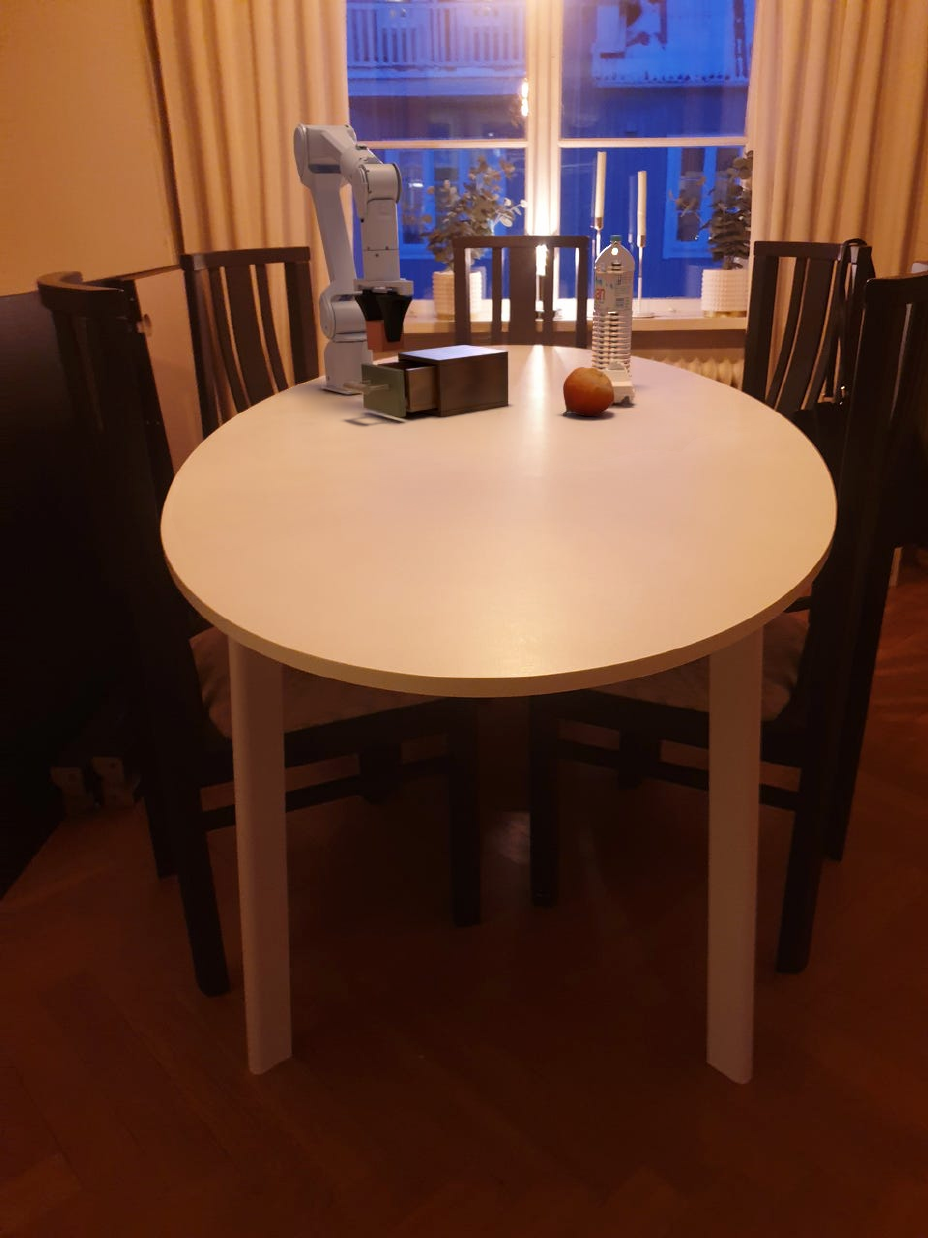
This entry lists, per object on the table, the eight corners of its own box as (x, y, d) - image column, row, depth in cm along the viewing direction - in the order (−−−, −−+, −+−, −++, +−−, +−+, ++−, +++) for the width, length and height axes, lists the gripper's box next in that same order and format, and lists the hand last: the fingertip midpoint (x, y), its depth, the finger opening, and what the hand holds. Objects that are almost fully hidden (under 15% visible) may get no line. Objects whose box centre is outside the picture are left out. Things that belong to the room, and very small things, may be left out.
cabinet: (441, 416, 140) (439, 359, 137) (400, 406, 149) (397, 352, 145) (508, 405, 148) (508, 351, 144) (465, 396, 156) (464, 344, 153)
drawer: (373, 421, 134) (370, 374, 131) (338, 411, 141) (334, 367, 139) (465, 406, 143) (464, 362, 140) (427, 397, 151) (426, 355, 148)
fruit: (561, 397, 144) (587, 354, 140) (601, 426, 143) (628, 383, 139) (543, 406, 138) (569, 362, 133) (584, 436, 137) (612, 392, 132)
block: (367, 349, 147) (365, 321, 145) (390, 346, 149) (388, 318, 147) (381, 351, 143) (380, 323, 142) (404, 349, 146) (403, 320, 144)
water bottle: (590, 383, 165) (595, 235, 155) (628, 383, 164) (635, 234, 154) (590, 390, 159) (595, 236, 148) (629, 390, 158) (637, 235, 148)
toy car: (630, 394, 154) (632, 353, 151) (636, 407, 143) (638, 363, 141) (594, 394, 155) (596, 353, 152) (598, 407, 144) (599, 364, 141)
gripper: (428, 248, 137) (431, 341, 143) (377, 248, 148) (382, 334, 153) (389, 250, 133) (394, 345, 139) (339, 249, 144) (346, 338, 149)
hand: (385, 340), depth 146 cm, fingers closed on block, 4 cm apart
